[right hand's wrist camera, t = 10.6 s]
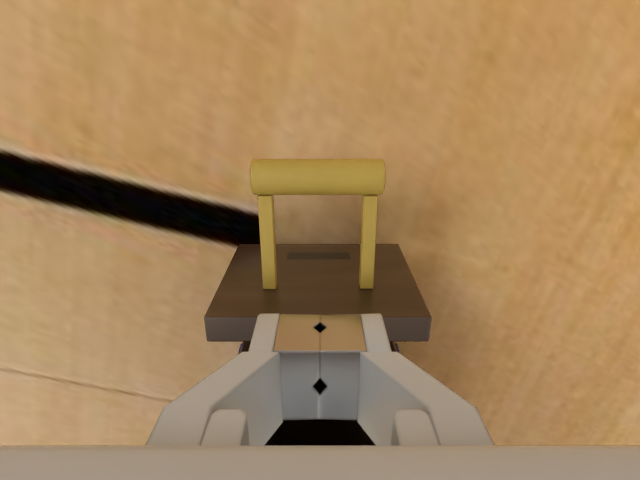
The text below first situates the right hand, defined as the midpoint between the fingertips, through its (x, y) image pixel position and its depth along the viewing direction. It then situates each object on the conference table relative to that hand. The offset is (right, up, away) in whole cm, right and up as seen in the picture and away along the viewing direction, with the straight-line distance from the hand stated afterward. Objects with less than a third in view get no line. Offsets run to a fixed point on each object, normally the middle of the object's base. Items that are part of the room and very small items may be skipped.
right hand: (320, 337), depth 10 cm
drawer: (0, -2, +15) cm, 16 cm away
